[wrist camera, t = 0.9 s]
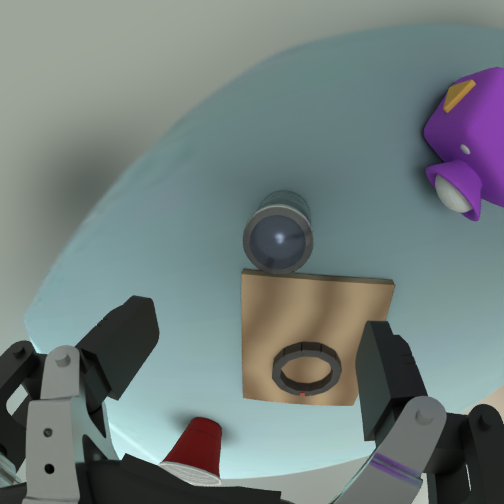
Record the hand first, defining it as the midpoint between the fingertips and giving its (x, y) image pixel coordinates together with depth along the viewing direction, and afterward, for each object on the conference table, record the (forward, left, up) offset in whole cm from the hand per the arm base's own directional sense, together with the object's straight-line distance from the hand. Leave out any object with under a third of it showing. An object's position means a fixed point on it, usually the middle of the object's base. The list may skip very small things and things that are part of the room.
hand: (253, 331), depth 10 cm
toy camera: (-18, -9, -18) cm, 27 cm away
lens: (0, 0, -18) cm, 18 cm away
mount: (-4, +16, -18) cm, 24 cm away
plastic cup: (+11, +39, -18) cm, 44 cm away
